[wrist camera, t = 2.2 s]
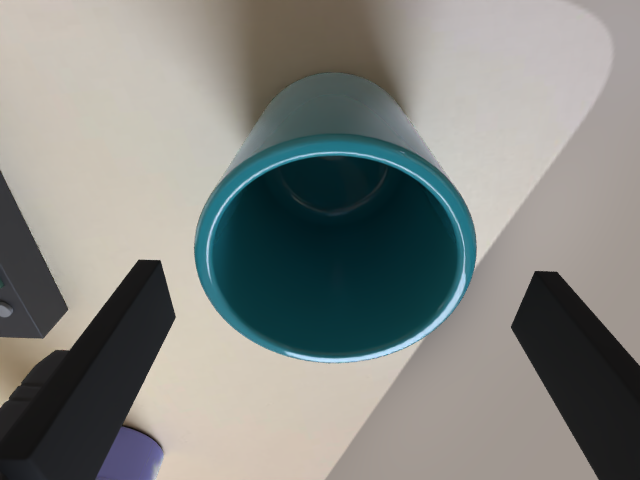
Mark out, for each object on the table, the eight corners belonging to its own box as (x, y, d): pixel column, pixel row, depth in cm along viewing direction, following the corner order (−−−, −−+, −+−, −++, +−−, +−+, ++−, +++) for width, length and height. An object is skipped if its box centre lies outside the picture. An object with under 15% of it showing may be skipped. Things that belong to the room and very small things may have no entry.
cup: (313, 271, 26) (304, 423, 16) (225, 112, 20) (130, 208, 10) (439, 229, 24) (510, 378, 14) (382, 38, 18) (440, 74, 8)
